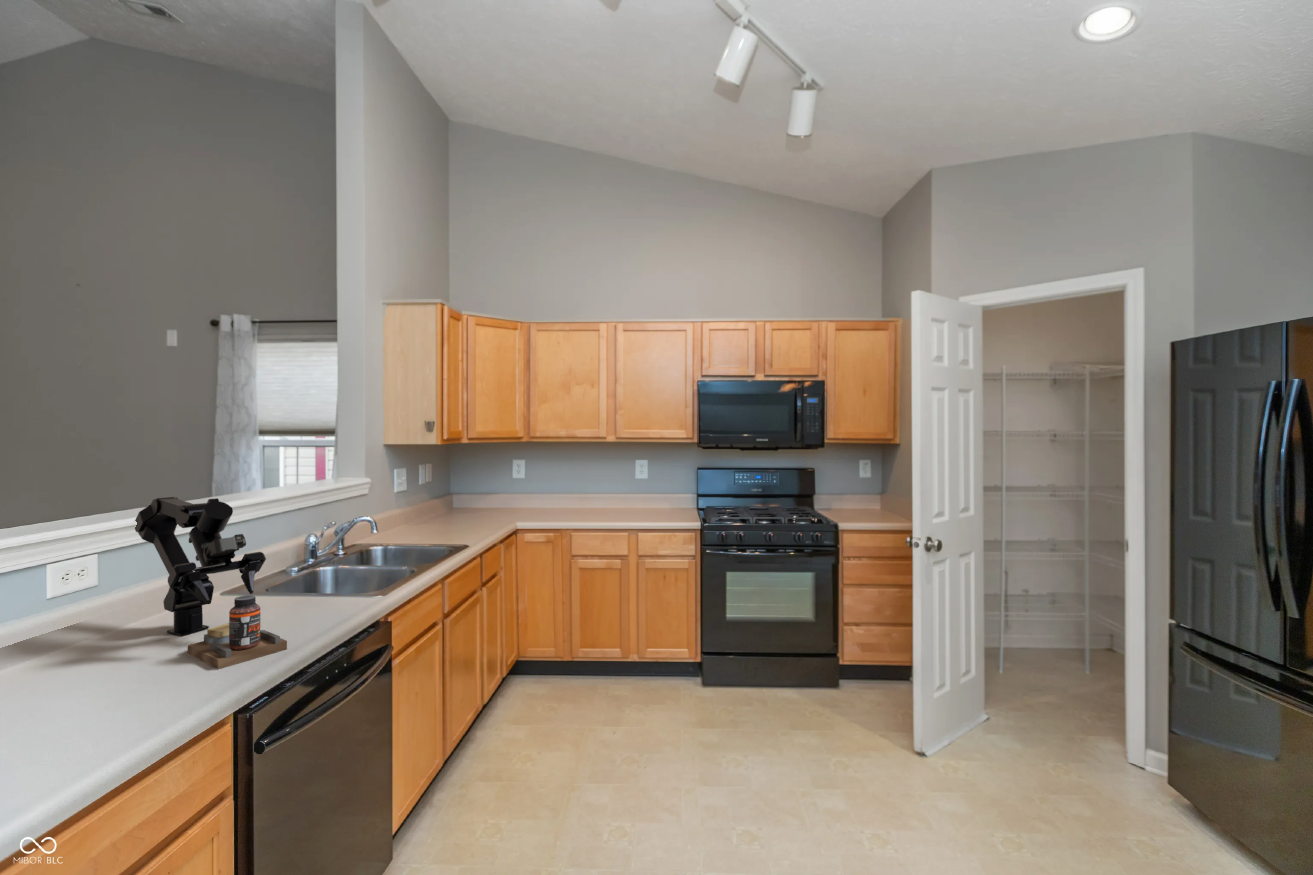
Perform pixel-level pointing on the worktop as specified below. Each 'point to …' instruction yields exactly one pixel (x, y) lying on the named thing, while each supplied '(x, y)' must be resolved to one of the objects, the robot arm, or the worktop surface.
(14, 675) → the worktop surface
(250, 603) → the supplement bottle
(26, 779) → the worktop surface
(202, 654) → the shelf board
